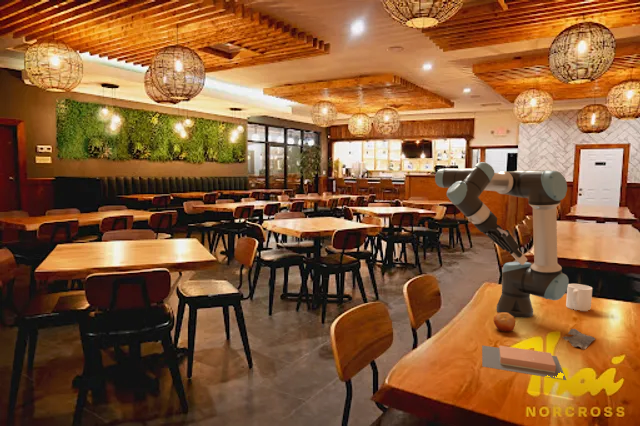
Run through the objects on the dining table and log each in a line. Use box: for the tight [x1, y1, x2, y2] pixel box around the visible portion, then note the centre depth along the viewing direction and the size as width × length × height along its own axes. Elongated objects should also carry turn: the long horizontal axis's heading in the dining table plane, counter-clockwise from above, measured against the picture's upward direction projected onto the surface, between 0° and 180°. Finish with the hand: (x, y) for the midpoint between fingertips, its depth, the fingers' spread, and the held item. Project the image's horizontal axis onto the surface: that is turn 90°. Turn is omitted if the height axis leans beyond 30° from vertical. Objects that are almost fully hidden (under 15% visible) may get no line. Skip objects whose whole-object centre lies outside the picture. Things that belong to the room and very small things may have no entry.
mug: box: [565, 283, 593, 312], centre depth 200 cm, size 13×10×10 cm
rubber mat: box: [481, 345, 567, 381], centre depth 142 cm, size 24×18×1 cm
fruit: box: [493, 312, 516, 333], centre depth 171 cm, size 8×8×8 cm
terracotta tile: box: [498, 345, 556, 373], centre depth 141 cm, size 2×10×16 cm
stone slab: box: [561, 328, 596, 351], centre depth 162 cm, size 18×2×10 cm
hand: (524, 261), depth 154 cm, fingers closed
